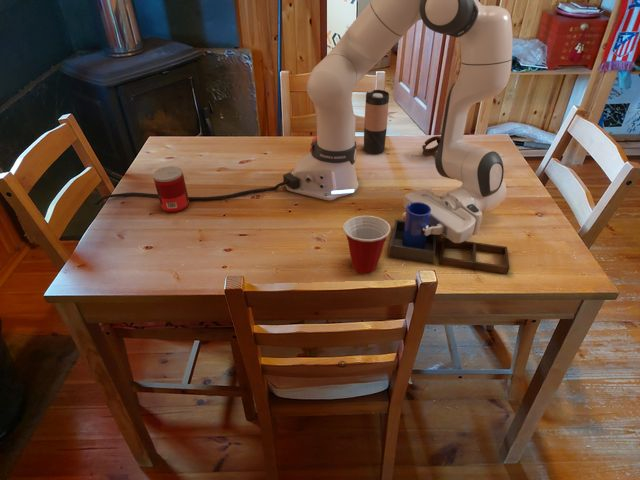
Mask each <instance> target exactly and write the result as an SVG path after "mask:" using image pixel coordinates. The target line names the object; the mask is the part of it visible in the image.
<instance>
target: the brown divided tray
mask: <svg viewBox="0 0 640 480" xmlns="http://www.w3.org/2000/svg"><path fill="white" fill-rule="evenodd" d="M445 247H450V248H458V249H466V250H471V260H469V259H461V258H460V259H459V258H455V257H447V256H445V254H444V253H445ZM477 251H480V252H487V253H494V254H501V255H502V257H503V258H502V259H503V264H495V263H489V262H482V261H481V262H480V261H477V255H476V254H477ZM508 251H509V250H508V246H504V245H499V244H498V245H497V244H491V243H482V242H475V241H468V240H466V241H464V242H461V243H454V242H452V241H451V240H449V239H448V238H447V237H442V238H441V242H440V255H439V265H443V266H449V267H457V268H463V269H470V270H477V271H483V272H490V273H497V274H504V275H508V274H509V271H510V261H509V252H508Z"/></svg>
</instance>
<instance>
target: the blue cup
mask: <svg viewBox="0 0 640 480" xmlns="http://www.w3.org/2000/svg"><path fill="white" fill-rule="evenodd" d="M405 212H406V215H405V220H404V221H405V223H404V231H403V239H402V245H403V246H407V247H414V248H421V249H424V248H425V244H426V239H427V236H426V235H424V234H423V233H422V228H423V227H426V226H427V225H428V226H429V220H430V214H431V208H430V207H429V206H428V205H427V204H425V203H421V202H413V203H410V204H408V205H407V207H406V208H405Z"/></svg>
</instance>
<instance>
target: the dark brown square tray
mask: <svg viewBox="0 0 640 480" xmlns="http://www.w3.org/2000/svg"><path fill="white" fill-rule="evenodd" d="M404 223H405V220H404V219H395V220H394V225H393V230H392V235H391V239H390V244H389V251H388V257H389V258H396V259H402V260H408V261H415V262H422V263H427V264H434V260H435V256H436V247H437V237H438V236H437V235H438V234H430V235H428V236H427V239H426V244H425V248H424V249H421V248H414V247H407V246H403V245H402V239H403V231H404ZM429 226H430V225H429ZM430 227H431V226H430Z"/></svg>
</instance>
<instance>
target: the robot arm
mask: <svg viewBox="0 0 640 480" xmlns="http://www.w3.org/2000/svg"><path fill="white" fill-rule="evenodd" d="M419 21H422V23H423V25H424V26H425V27H427V29H428V30H430V31H432V32H434V33H437V34H440V35H445V36H449V37H453V38H459V40H460V46H461V50H460V52H461V53H460V68H459V73H458V77H457V79H456V81H455V82H453V84H452V85H451V87H450V88H449V91H448V95H447V99H446V102H445V103H446V104H445V110H444V115H443V122H442V128H441V133H440V134H441V135H440V136H441V140H440V144H439V147H438V150H437V151H436V155H435V156H436V157H434V165H435V169H436V172H437V173H438V175H440V176H441V177H442V178H447V179H451V180H455V181H458V182H461V185H460V186H459V187H457V188H455V189H452V190H450V191H447V192H445V193H442V194H441V195H440V196H439V195H436V194H435V193H434V192H432V191H430V190H427V189H420V190H419V189H418V190H415V191H412V192H408V193H406V194H405V196H404V197H403V207H404V208H405V209H406V207H407V205H408V204H410V203H413V202H421V203H425V204H427V205H428V206H429V207H430V208H431V214H430V220H429V225H430V226H431V227H430V226H428V225H427V226H426V227H423V228H422V233H423V234H424V235H426V236H428V235H430V234H437V235H442V236H444V238H447V239H449V240H451V241H452V242H454V243H461V242H464V241H468V240H469V239H471V238H472V237H473V236H475V235H477V234H478V233H479V230H480V227H481V223H482V220H483V219H482V218H483V214H485V213H488V212H490V211H493V210H494V209H495V208H497V207H498V206H499V205H500V204H501V203H502V202H503V201H504V200H505V199H506V196H507V194H508V193H507V192H508V191H507V190H508V189H507V185H506V183H505V181H504V173H505V170H504V163H503V160H502V157H501V155H500V154H499V153H498V152H497V151H493V150H490V149H487V148H483V147H478V146H474V145H470V144H468V143H466V141H465V140H464V139H465V138H464V134H465V129H466V124H467V119H468V115H469V114H468V113H469V111H470V109H471V107H472V106H474V105H475V104H478V103H481V102H484V101H487V100H491V99H492V98H495V97H496V96H497V95H499V94H500V93H501V92H503V90H504V89H505V88H506V86H508V83H509V81H510V77H511V73H512V63H513V49H514V48H513V47H514V46H513V44H514V40H513V39H514V38H513V37H514V36H513V34H514V33H513V23H512V16H511V14H510V12H509V10H507V9H506V8H505V7H502V6H498V5H485V4H482V3H481V0H370V1H369V2H368V4H367V5H366V6H365V8H364V9H362V10H361V12H360V13H359V15H357V17H356V18H355V19H354V21H353V22H352V23H351V24H350V25H349V27H348V28H347V30H346V31H345V32H344V34H343V35H342V36H341V38H340V39H339V40H338V42H337V43H336V44H335V45H334V47H333V48H332V49H331V50H330V51H329V52H328V54H326V55H325V56H324V58H323V59H322V60H320V62H318V63H317V64H316V65H315V66H314V67H313V68H312V70H311V72H310V74H309V75H308V76H309V77H308V78H307V79H308V80H307V82H306V92H307V96H308V98H309V100H310V101H311V102H312V104H313V108H314V113H315V121H316V135H315V136H313V138H312V139H311V143H310V147H309V152H308V153H306V154H304V155H302V156H301V157H300V158H298V160H297V161H296V162H295V165H294V168H293V170H292V171H291V172H288V173H285V174H283V175H282V179H283V181H282V182H279V183H277V184H276V185H275V186H271V187H267V188H254V189H249V190H243V191H240V192H235V193H230V194H223V195H222V194H221V195H216V196H215V195H214V196H213V195H212V196H188V198H189V201H211V200H212V201H214V200H221V199H223V200H224V199H228V198H234V197H239V196H243V195H248V194H254V193H263V192H268V191H269V192H270V191H276V190H277V189H279V188H280V187H283V186H285V189H286V190H287V191H288V192H292V193H296V194H300V195H304V196H307V197H311V198H316V199H320V200H323V201H328V202H331V201H334V200H337V198H341V197H346V196H349V195H351V194H353V193H355V192H356V191H357V190H358V188H359V185H360V184H359V180H358V176H357V171H356V160H357V141H356V124H357V123H356V121H357V117H356V115H355V113H354V112H355V111H354V108H353V107H354V106H353V92H354V89H355V87H356V86H357V84H359V82H360V81H361V80H362V79H363V78H364V77H365V76H366V75H367V74H368V73H369V72H370V71H371V70H372V69H373V68H374V67H375V66H376V65H377V64H378V63H379V62H380V61H381V60H382V59H383V58H384V57H385V56H386V55H387V54H388V52H390V50H391V49H392V48H393V47H394V46H395V45H396V44H397V43H398V42H399V41H400V40H401V39H402V38H403V36H405V34H407V32H408V31H410V29H411V28H412V27H413V26H414V25H415V24H416V23H417V22H419ZM129 196H130V197H131V196H132V197H133V196H136V197H137V196H138V197H147V198H148V197H150V198H159V197H158V193H145V192H122V193H111V194H106V195H103V196H101V197H100V198H98V199H97V200H96V201H95V202H94V203H93V205H94V206H97V205H99V204H100V203H101V202H102V201H104V200H106V199H110V198H120V197H129ZM405 215H406V211H404V212H402V216H401V217H402V220H404V221H405Z"/></svg>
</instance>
